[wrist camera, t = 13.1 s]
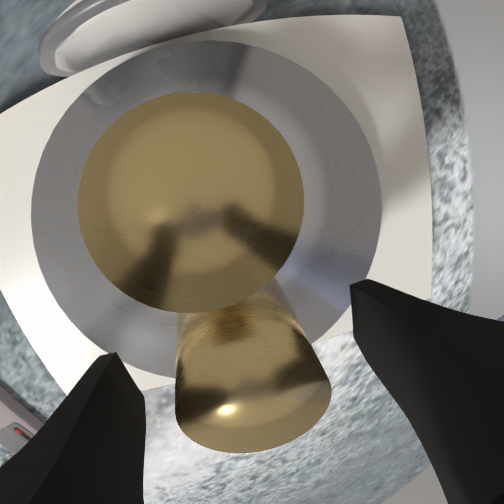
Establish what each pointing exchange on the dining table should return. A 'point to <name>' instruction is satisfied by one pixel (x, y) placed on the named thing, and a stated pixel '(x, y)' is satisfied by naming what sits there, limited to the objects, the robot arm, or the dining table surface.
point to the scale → (232, 30)
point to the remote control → (16, 423)
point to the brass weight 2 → (247, 375)
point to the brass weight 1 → (190, 202)
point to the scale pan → (299, 140)
